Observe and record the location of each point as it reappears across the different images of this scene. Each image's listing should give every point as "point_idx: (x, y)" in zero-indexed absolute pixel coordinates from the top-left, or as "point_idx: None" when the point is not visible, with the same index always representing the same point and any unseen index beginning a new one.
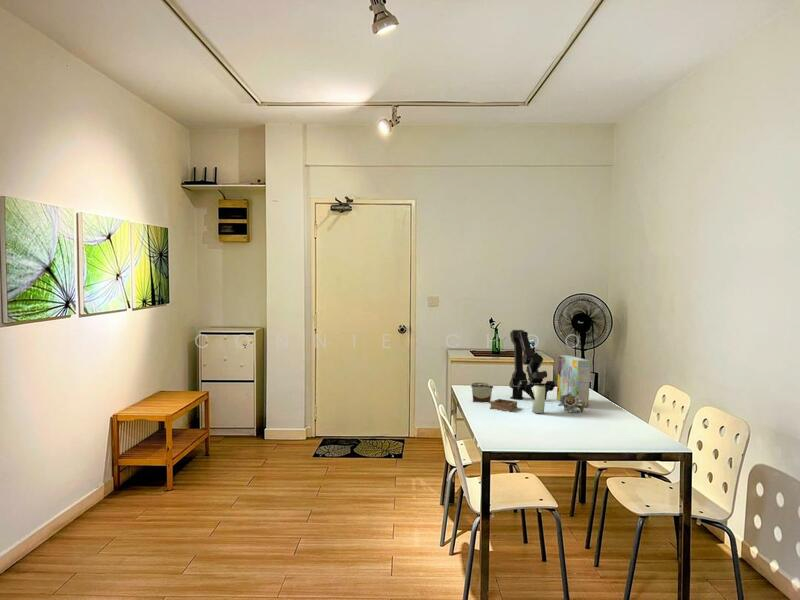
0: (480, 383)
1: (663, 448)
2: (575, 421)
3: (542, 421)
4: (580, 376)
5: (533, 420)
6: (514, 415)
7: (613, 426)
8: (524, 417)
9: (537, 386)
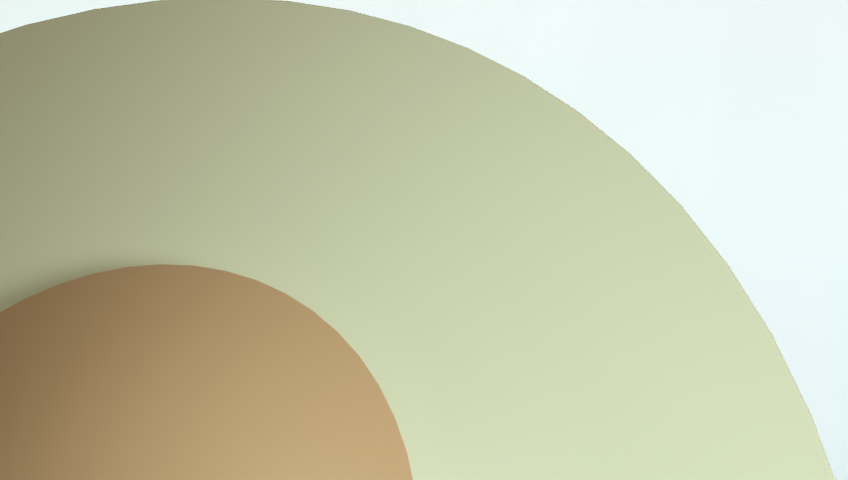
0: None
1: None
2: (12, 19)
3: (453, 8)
4: None
5: (554, 43)
6: (791, 276)
7: None
8: (651, 173)
9: (404, 471)
